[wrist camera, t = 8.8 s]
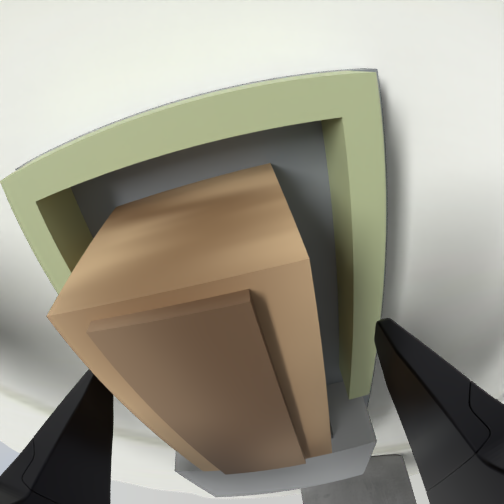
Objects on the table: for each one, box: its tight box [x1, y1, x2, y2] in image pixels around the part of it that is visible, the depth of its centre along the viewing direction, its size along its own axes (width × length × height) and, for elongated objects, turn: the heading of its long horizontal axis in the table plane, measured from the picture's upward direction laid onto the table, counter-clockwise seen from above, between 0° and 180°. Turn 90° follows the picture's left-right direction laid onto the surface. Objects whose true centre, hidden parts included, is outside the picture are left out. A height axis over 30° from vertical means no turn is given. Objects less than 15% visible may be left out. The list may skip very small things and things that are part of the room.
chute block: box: [47, 163, 332, 475], centre depth 9 cm, size 5×9×5 cm, turn 14°
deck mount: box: [0, 68, 387, 497], centre depth 12 cm, size 12×22×5 cm, turn 12°
